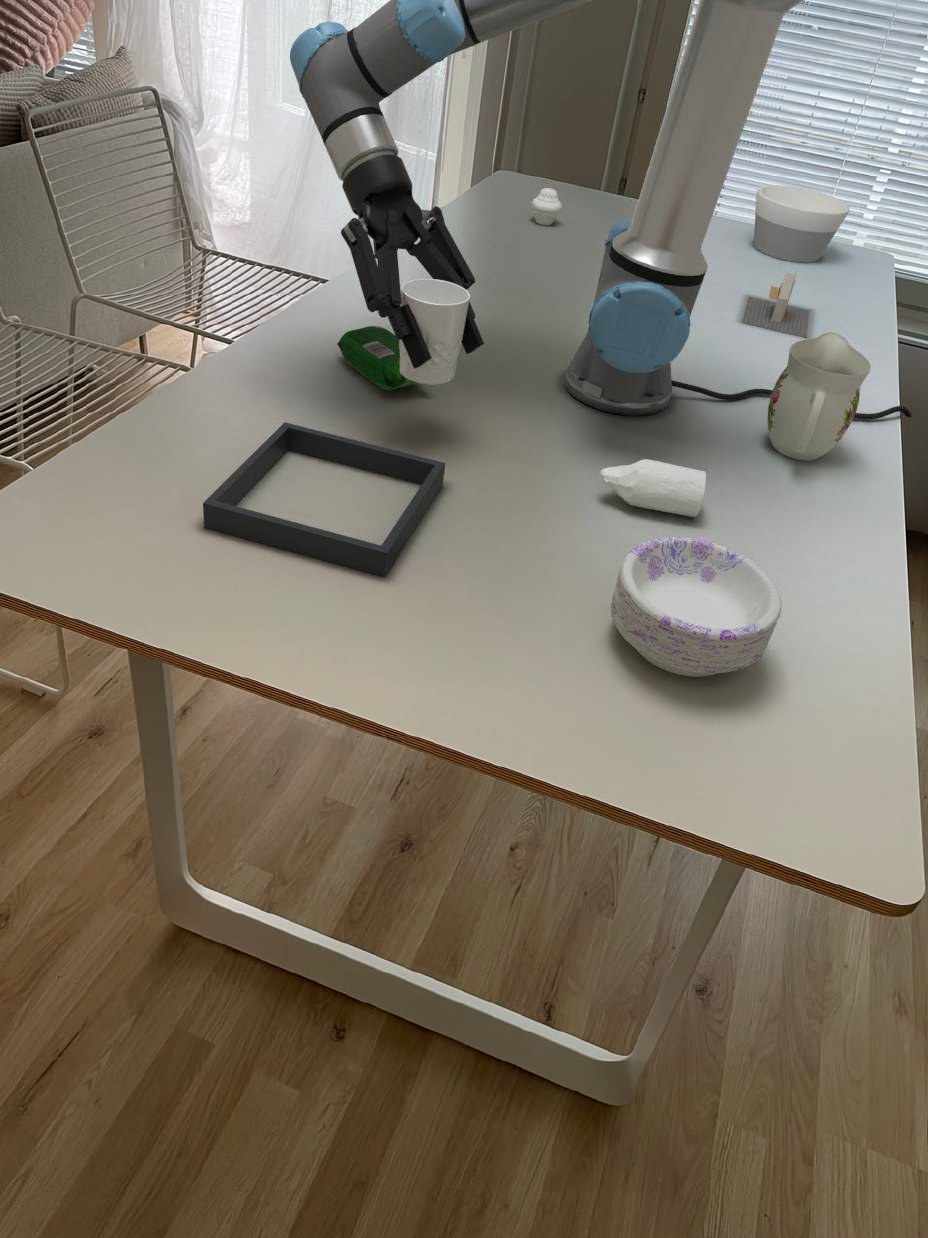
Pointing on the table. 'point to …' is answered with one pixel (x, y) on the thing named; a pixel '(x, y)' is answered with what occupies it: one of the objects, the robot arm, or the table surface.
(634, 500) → the white tapered cylinder
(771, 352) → the table surface
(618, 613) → the paper bowls
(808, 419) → the pitcher
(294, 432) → the dark grey square frame
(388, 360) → the snack package
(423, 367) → the white cup
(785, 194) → the bowl
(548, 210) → the muffin
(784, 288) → the architectural model
